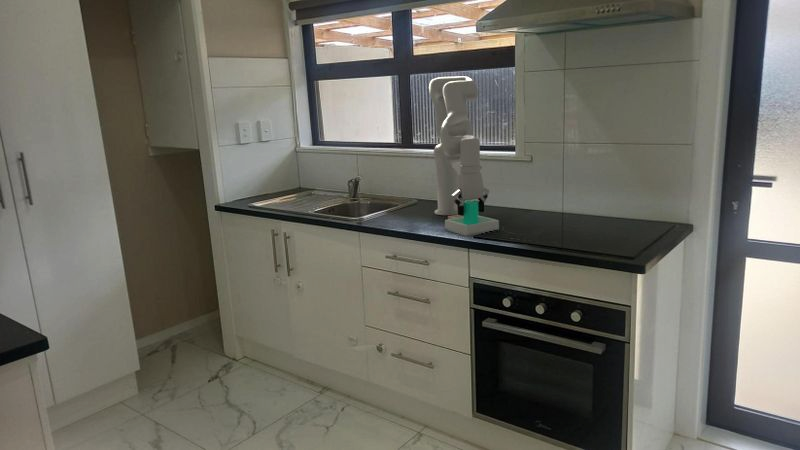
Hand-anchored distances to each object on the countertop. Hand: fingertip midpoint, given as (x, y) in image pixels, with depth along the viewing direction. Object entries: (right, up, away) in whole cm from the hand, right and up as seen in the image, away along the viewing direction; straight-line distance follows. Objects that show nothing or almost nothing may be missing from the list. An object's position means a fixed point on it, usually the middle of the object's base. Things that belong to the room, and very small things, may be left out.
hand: (471, 213), depth 228 cm
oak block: (-5, -5, +11) cm, 13 cm away
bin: (0, -6, +1) cm, 7 cm away
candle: (0, -6, +1) cm, 6 cm away
